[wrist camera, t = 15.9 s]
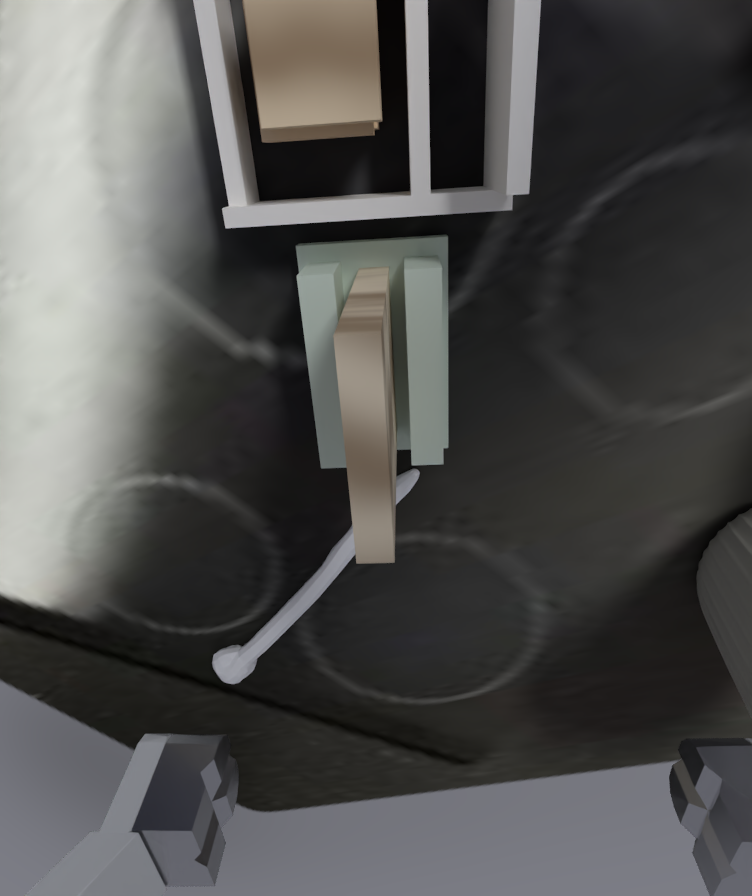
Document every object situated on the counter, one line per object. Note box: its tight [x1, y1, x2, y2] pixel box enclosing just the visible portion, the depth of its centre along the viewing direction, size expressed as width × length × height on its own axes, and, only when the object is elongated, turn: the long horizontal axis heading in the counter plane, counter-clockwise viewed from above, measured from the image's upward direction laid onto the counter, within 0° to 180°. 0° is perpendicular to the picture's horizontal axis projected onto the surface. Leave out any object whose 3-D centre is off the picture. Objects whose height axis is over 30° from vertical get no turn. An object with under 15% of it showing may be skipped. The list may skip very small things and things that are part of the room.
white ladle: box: [212, 469, 420, 684], centre depth 45 cm, size 28×4×3 cm, turn 144°
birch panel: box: [333, 266, 397, 564], centre depth 29 cm, size 11×2×14 cm, turn 4°
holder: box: [296, 235, 448, 468], centre depth 34 cm, size 14×9×5 cm, turn 4°
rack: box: [193, 0, 541, 228], centre depth 26 cm, size 15×15×8 cm
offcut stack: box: [242, 0, 382, 143], centre depth 27 cm, size 7×6×6 cm
